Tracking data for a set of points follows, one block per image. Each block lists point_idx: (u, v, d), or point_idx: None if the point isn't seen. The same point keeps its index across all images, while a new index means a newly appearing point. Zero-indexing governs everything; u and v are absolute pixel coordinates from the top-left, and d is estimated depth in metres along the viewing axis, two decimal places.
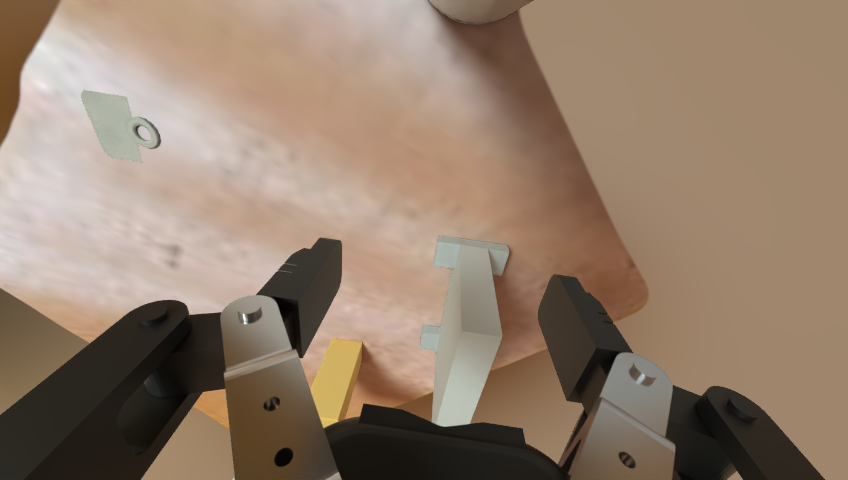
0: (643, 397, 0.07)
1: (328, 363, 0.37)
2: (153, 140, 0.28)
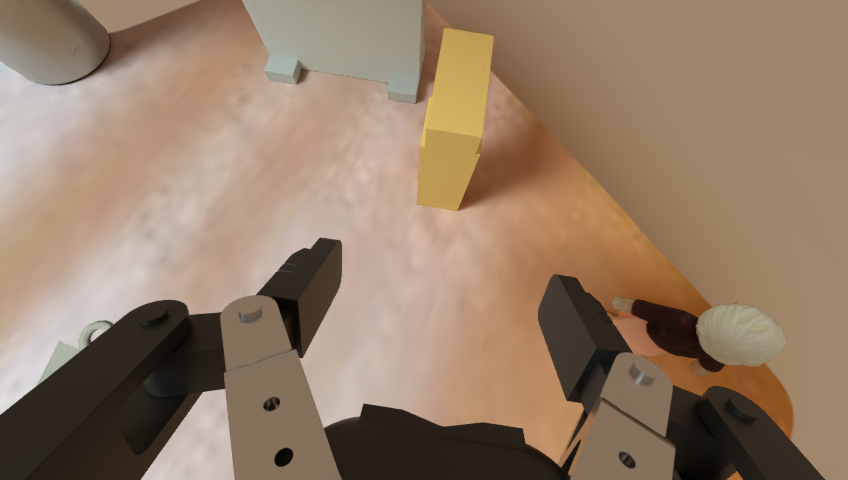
0: (643, 397, 0.07)
1: None
2: (106, 328, 0.26)
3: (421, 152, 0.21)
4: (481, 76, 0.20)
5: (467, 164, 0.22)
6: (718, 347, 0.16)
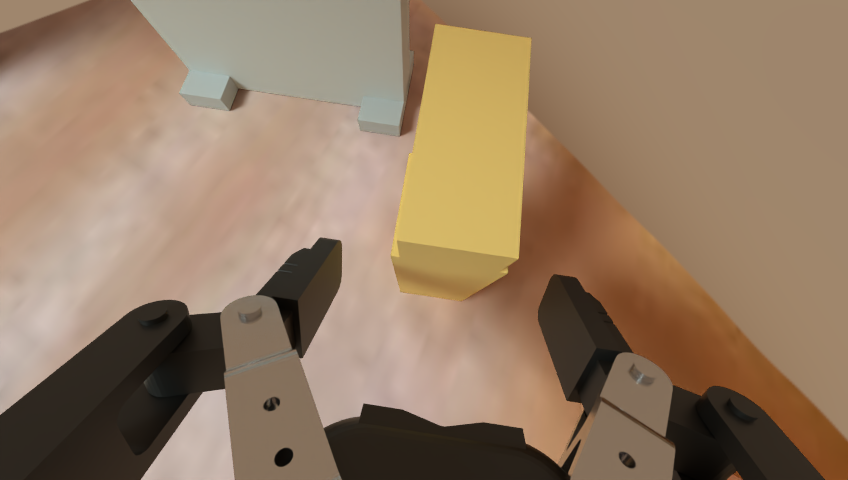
0: (643, 397, 0.07)
1: None
2: None
3: (395, 260, 0.11)
4: (510, 121, 0.10)
5: (482, 277, 0.12)
6: None
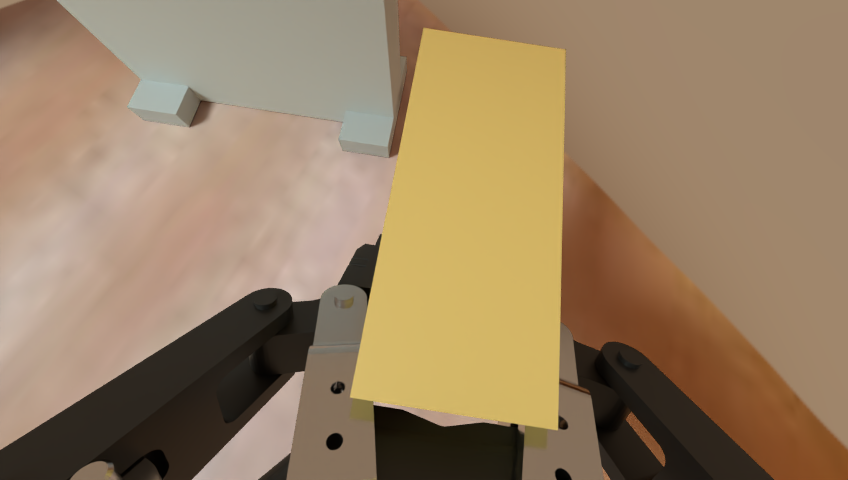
0: None
1: None
2: None
3: None
4: (537, 180, 0.06)
5: None
6: None
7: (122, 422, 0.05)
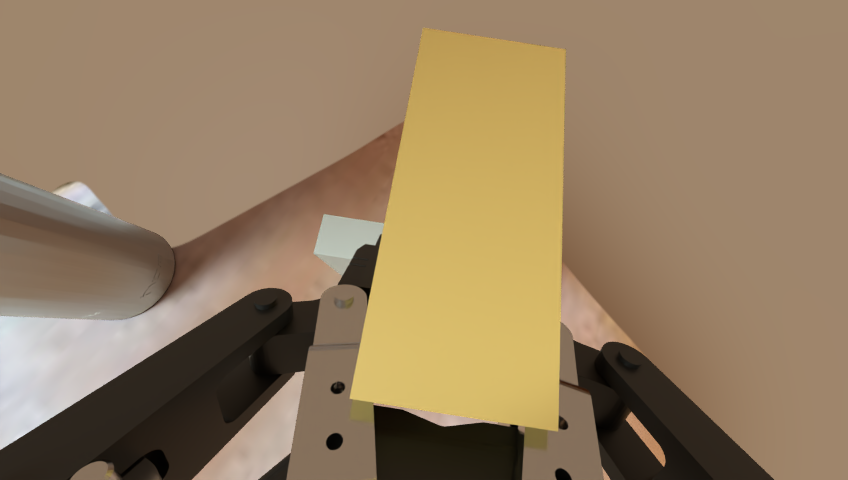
0: None
1: None
2: None
3: None
4: (538, 180, 0.06)
5: None
6: None
7: (122, 422, 0.05)
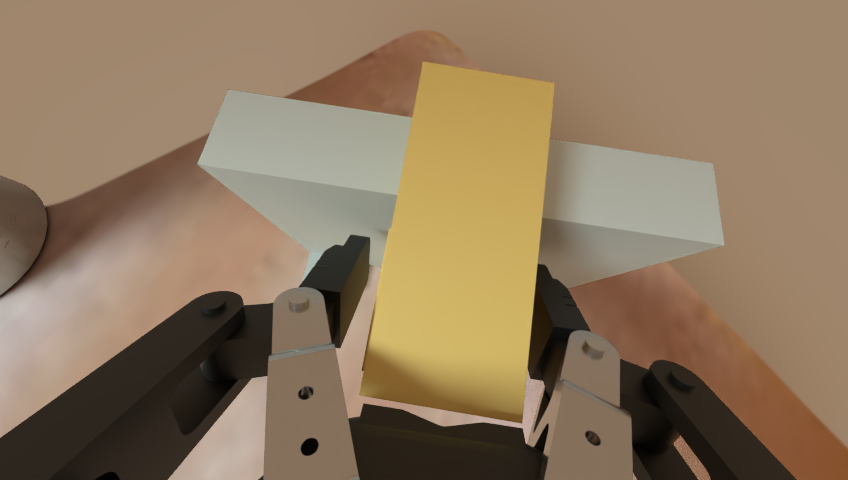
0: (590, 368, 0.07)
1: None
2: None
3: None
4: (519, 212, 0.07)
5: None
6: None
7: (64, 448, 0.05)
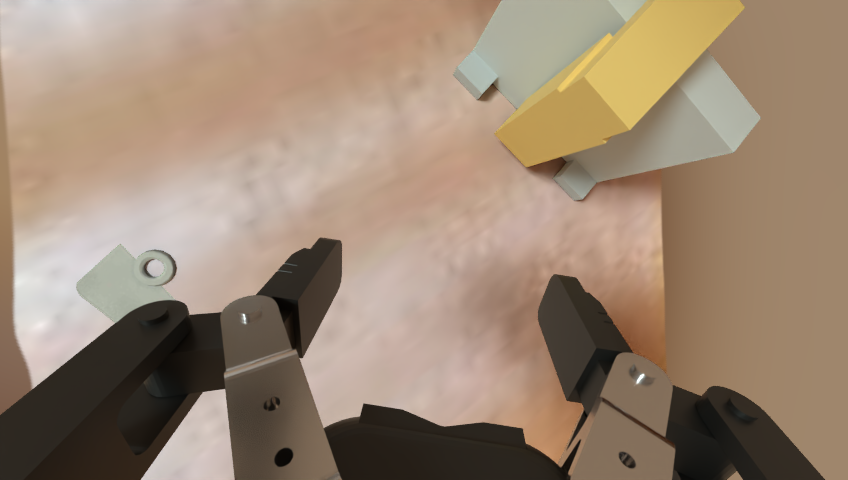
0: (643, 397, 0.07)
1: (519, 113, 0.22)
2: (167, 264, 0.23)
3: (551, 94, 0.17)
4: (687, 53, 0.15)
5: (583, 141, 0.18)
6: None
7: None
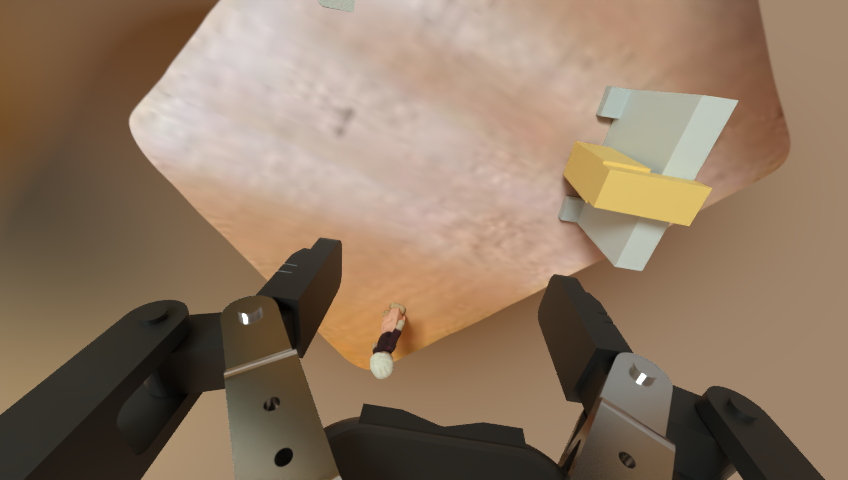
0: (643, 397, 0.07)
1: (592, 148, 0.33)
2: None
3: (600, 159, 0.28)
4: (649, 212, 0.27)
5: (584, 192, 0.30)
6: (376, 358, 0.42)
7: None
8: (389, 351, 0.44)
